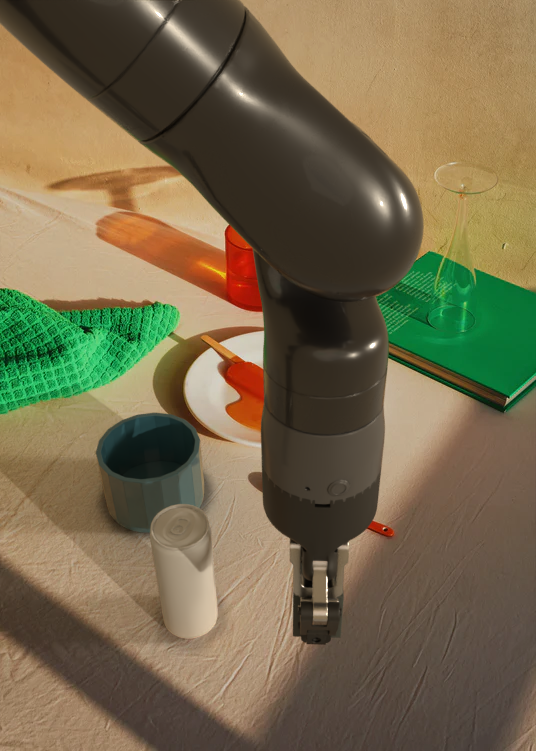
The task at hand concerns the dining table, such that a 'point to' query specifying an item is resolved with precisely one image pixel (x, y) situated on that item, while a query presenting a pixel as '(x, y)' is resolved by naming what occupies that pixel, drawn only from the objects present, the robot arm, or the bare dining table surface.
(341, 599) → the dark gray rectangular block
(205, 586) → the beverage can
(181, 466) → the teal round container
